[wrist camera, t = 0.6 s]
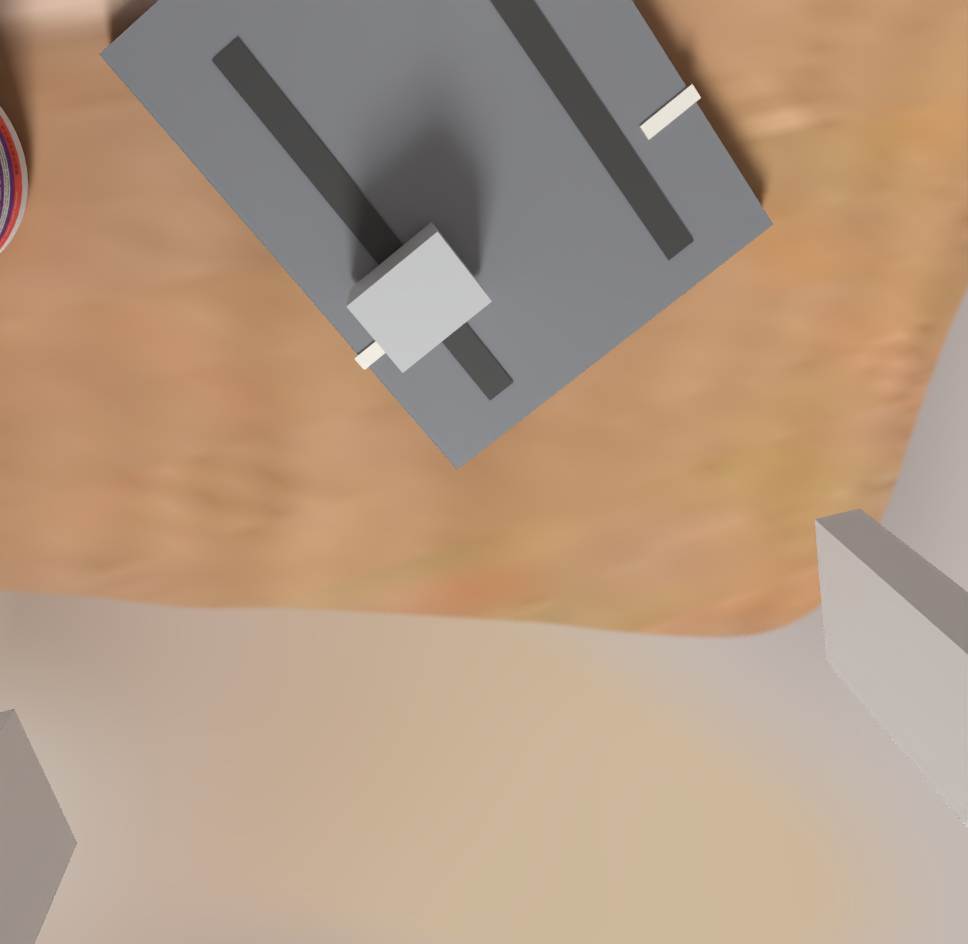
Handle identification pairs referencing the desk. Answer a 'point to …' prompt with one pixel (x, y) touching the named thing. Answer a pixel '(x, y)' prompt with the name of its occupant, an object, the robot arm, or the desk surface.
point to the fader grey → (416, 298)
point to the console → (455, 172)
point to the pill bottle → (11, 181)
